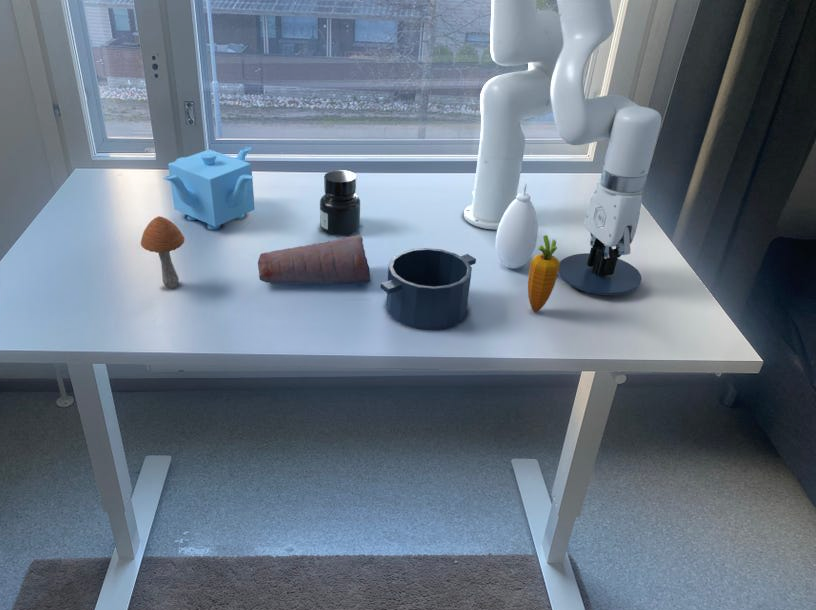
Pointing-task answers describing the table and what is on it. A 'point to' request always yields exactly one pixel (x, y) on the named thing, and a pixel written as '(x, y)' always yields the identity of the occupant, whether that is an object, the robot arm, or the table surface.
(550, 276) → the carrot
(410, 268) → the saucepan
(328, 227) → the ink bottle
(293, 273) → the food
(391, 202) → the table surface
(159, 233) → the mushroom
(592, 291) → the saucepan lid
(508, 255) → the white egg-shaped bulb
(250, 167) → the teakettle
